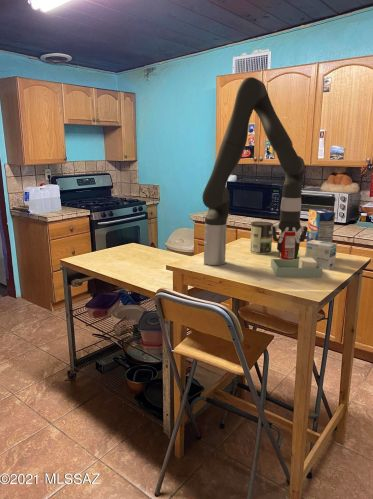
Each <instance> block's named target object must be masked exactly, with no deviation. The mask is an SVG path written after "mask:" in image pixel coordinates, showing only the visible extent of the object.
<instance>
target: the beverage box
mask: <svg viewBox="0 0 373 499" xmlns="http://www.w3.org/2000/svg"><path fill="white" fill-rule="evenodd" d="M335 218H336V212H335V211H332V210H328V209H325V208H309V210H308V221H307V222H308V223H307V227H308V230H307V233H306V244H307V242H308V241H311V240H317V241H324V242H330V243H333V239H334V230H335V229H334V228H335ZM304 253H305V254H304V257H305V256H306V252H304Z"/></svg>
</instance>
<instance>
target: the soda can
mask: <svg viewBox="0 0 373 499" xmlns="http://www.w3.org/2000/svg"><path fill="white" fill-rule="evenodd" d="M281 243H282V249H281V252H280V253H279V259H282V260H285V261H292V260H293V259H294V256H295V243H296V238H295V231H285V234H284V238H283V240H282V242H281Z"/></svg>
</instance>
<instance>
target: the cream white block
mask: <svg viewBox="0 0 373 499" xmlns="http://www.w3.org/2000/svg"><path fill="white" fill-rule="evenodd" d="M298 259H299V268H317V262H316V261H315V260H314V259H313V258H305V256H304V257H301V256H300V257H298Z"/></svg>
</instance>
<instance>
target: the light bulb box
mask: <svg viewBox="0 0 373 499" xmlns="http://www.w3.org/2000/svg"><path fill="white" fill-rule="evenodd" d="M306 242H307V241H306ZM337 247H338V243H337V242H335V243H334V242H332V243H330V242H324V241H317V240H311V241H308V242H307V244H306V245H305V253H306V256H305V255H304V258H313V259H314V260H315V261H316V262H317V264H318V265H319V266H320V267H321V268H322V270H327V271H329V270H332V269H334V268H335V267H336V257H337Z"/></svg>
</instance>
